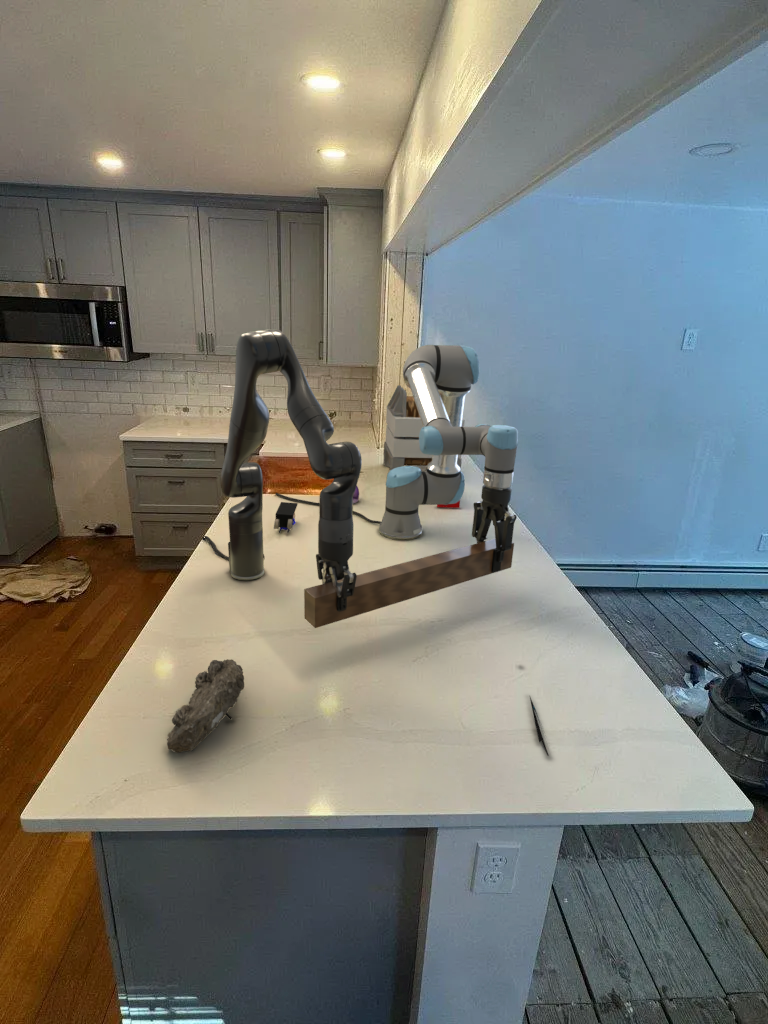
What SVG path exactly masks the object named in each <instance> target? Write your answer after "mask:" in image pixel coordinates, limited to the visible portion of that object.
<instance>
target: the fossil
mask: <svg viewBox="0 0 768 1024" xmlns="http://www.w3.org/2000/svg"><path fill="white" fill-rule="evenodd" d="M243 670H244V669H243V667H242V665H240V664H237V662H236V661H235V660H234V659H232V658H231V659H227V658H226V659H224V660H223V661H222V660H217V659H212V660H211V661H210V663H209V665H208V666H207V671H201V672H199V673H198V674H197V675H196V676H195V680H194V684H195V685H194V687H195V689H194V690H193V693H192V694H191V697H190V698H189V700H188V704H184V705H182V706H181V707H180V709H177V710H176V711H175V713H174V715H173V716H172V718H171V723H172V724H173V727H172V730H171V731H170V732H168V734H167V738H166V741H167V742H166V745H167V749H168V750H169V751H173V752H174V753H176V754H178V753H182V752H188V751H189V752H192V751H193V750H195V748H196V747H197V746H199V744H200V743H201V742H203V741H204V740H205V739H206V738H207V737H208V736H209V735H210V734H211V733H212V732H214V730H215V729H217V727H218V726H219V724H220V722H221V721H222V720H223V719H224V718H225V716H226V717H227V719H229V720H233V717H232V715H230V714H229V710H230V709H231V708H234V706H235V704H236V703H237V702H238V699H239V697H240V695H241V693H242V691H243V690H245V689H244V688H245V675H244V671H243Z"/></svg>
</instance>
